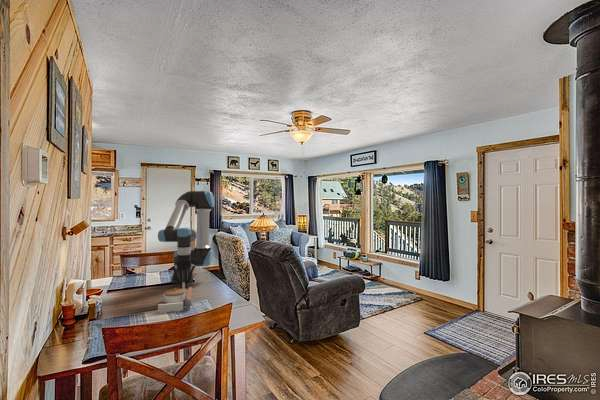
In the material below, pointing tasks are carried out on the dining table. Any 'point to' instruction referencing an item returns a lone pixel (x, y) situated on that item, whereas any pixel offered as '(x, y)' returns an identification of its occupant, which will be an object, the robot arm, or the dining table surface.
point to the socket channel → (171, 306)
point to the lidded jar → (174, 295)
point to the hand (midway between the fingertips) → (183, 294)
